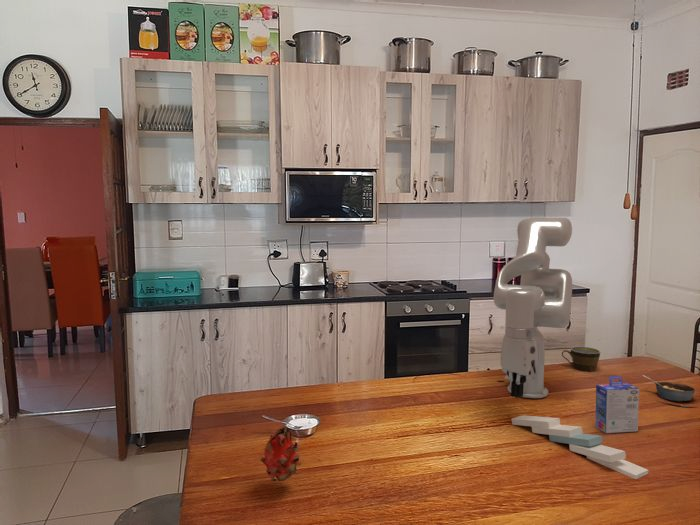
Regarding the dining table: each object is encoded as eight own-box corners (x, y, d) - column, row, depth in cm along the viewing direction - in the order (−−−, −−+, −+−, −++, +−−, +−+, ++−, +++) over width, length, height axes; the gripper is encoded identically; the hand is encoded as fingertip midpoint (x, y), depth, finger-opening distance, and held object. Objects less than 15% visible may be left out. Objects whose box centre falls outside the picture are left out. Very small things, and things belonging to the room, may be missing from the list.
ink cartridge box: (625, 424, 145) (627, 374, 144) (639, 432, 140) (641, 380, 138) (593, 426, 144) (595, 375, 142) (605, 434, 138) (608, 381, 137)
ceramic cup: (597, 374, 192) (598, 348, 191) (601, 382, 183) (602, 354, 182) (560, 370, 196) (561, 345, 196) (561, 378, 187) (562, 351, 186)
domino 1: (511, 418, 144) (548, 421, 135) (522, 415, 147) (559, 418, 137) (512, 424, 144) (549, 428, 134) (523, 420, 147) (560, 424, 137)
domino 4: (569, 444, 128) (609, 455, 117) (584, 440, 130) (625, 451, 119) (570, 450, 128) (610, 462, 117) (584, 446, 130) (626, 458, 119)
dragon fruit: (266, 494, 107) (266, 439, 106) (256, 476, 115) (256, 424, 114) (305, 486, 111) (305, 432, 110) (293, 468, 118) (292, 418, 117)
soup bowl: (687, 415, 152) (688, 390, 152) (634, 399, 166) (635, 376, 166) (712, 406, 160) (713, 383, 159) (659, 391, 174) (660, 370, 173)
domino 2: (531, 426, 139) (568, 430, 129) (544, 423, 141) (581, 426, 131) (532, 432, 139) (570, 437, 128) (545, 429, 141) (582, 433, 131)
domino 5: (586, 454, 124) (635, 475, 114) (599, 449, 127) (648, 469, 116) (586, 460, 124) (635, 482, 114) (599, 455, 127) (648, 476, 117)
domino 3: (548, 434, 134) (588, 439, 124) (561, 431, 136) (601, 435, 126) (550, 441, 134) (589, 446, 123) (563, 437, 136) (603, 442, 126)
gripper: (550, 336, 140) (547, 401, 141) (507, 326, 152) (505, 386, 154) (532, 339, 136) (529, 407, 137) (489, 329, 148) (487, 391, 150)
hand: (517, 396), depth 145 cm, fingers closed
